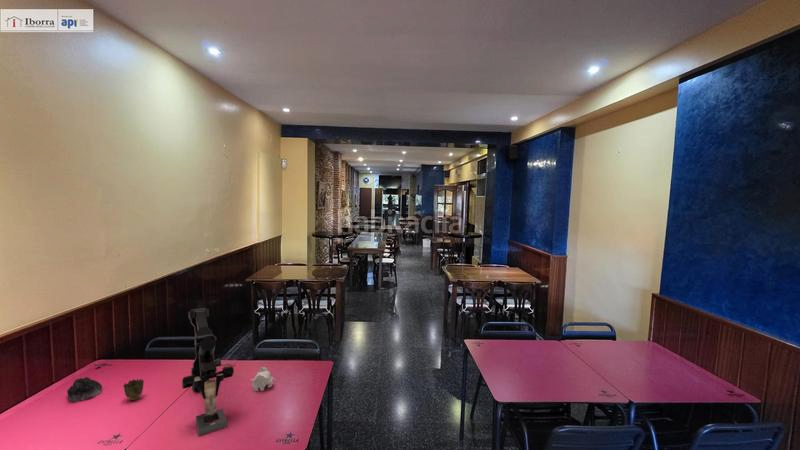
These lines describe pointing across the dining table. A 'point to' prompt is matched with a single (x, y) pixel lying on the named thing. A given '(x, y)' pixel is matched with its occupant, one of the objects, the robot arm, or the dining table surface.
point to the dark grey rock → (83, 389)
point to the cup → (133, 389)
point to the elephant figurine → (262, 379)
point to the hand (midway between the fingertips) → (210, 397)
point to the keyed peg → (210, 397)
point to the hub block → (204, 420)
